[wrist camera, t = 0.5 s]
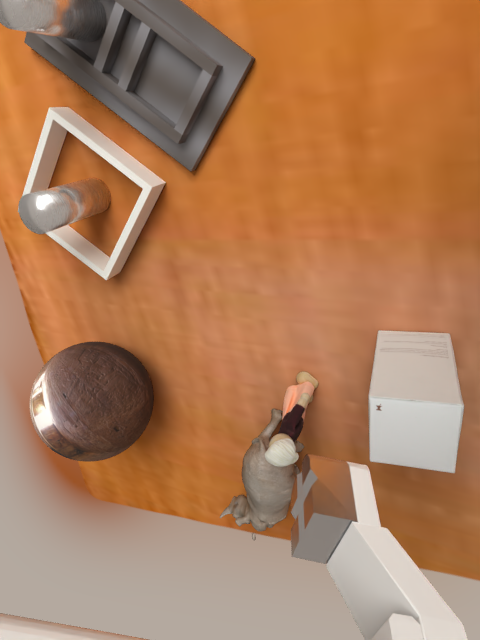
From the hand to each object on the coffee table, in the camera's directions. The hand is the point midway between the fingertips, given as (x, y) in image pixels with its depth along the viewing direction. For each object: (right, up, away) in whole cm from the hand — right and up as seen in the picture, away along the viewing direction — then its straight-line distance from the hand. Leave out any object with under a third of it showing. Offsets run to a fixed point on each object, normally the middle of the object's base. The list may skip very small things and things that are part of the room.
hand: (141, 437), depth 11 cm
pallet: (-8, +30, +33) cm, 45 cm away
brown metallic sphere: (-14, -4, +52) cm, 54 cm away
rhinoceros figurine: (+7, -16, +50) cm, 53 cm away
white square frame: (-15, +18, +41) cm, 47 cm away
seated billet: (-12, +32, +32) cm, 47 cm away
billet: (-15, +18, +41) cm, 47 cm away
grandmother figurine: (+10, -6, +44) cm, 45 cm away
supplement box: (+21, -1, +37) cm, 43 cm away
